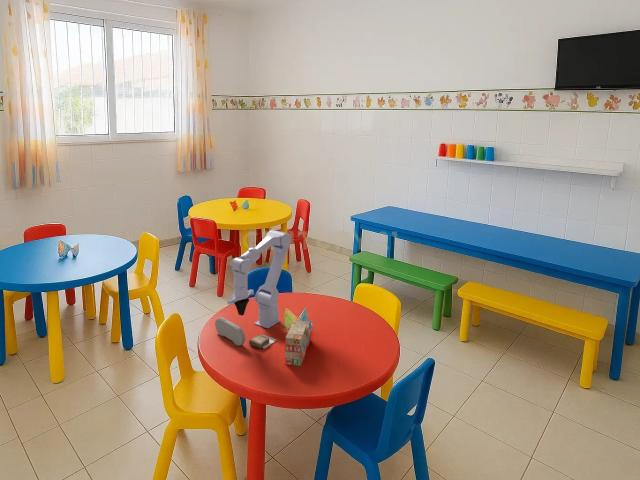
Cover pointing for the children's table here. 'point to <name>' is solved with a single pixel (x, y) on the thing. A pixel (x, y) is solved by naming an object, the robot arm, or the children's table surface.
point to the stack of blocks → (297, 342)
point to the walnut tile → (259, 341)
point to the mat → (269, 341)
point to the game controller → (230, 331)
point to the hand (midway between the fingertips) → (241, 314)
